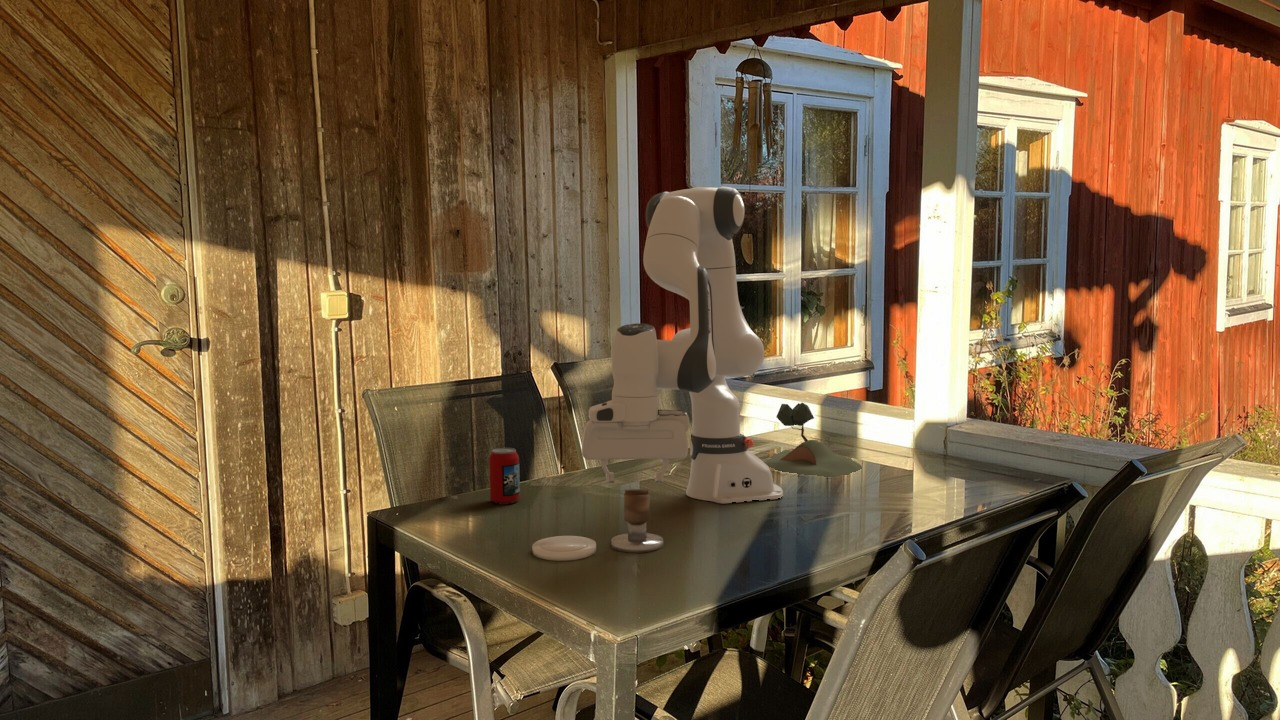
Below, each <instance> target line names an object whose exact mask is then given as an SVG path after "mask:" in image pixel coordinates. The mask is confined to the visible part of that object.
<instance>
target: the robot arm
mask: <svg viewBox="0 0 1280 720" xmlns="http://www.w3.org/2000/svg"><path fill="white" fill-rule="evenodd" d="M745 210H746V209H745V204H744V199H743V197H742V194H741V193H740V192H739V191H738V190H737V189H736V188H734V187H730V186H729V187H728V186H724V185H723V186H722V185H721V186H719V187H710V186H705V187H704V186H702V187H701V186H699V187H691V188H686V189H680V190H675V191H663V192H659V193H657V194H654V195H653V196H652V197H651V198H650V199H649V201H648V202H647V205H646V208H645V223H646V226H647V234H646V240H645V243H644V244H645V245H644V248H643V249H644V250H643V256H642V258H643V267H644V271H645V272H646V274H647V276H648V277H649V278H650V279H651V281H653V282H654V283H655V284H657V285H658V286H659V287H660V288H662V289H665V290H667V291H669V292H672V293H675V294H677V295H679V296H681V297H683V298H685V299H686V300H688V301H689V302H688V303H689V328H685V329H681V330H679V331H677V332H676V333H675V334H674V336H673V337H672V338H671V339H670V340H669V339H657V338H658V337H657V332H656V328H655V327H654V325H650V324H648V323H639V322H638V323H637V322H636V323H631V324H624V325H622V326H620V327H618V328H617V329H616V330H615V334H614V338H613V345H612V354H611V355H612V356H611V375H612V378H613V387H612V392H611V400H608V401H605V402H602V403H598V404H595V405H592V406H590V407H589V409H588V419H589V420H588V421H587V422H586V424H585V425H584V429H583V434H582V440H581V441H582V442H581V455H582V457H583V458H584V459H585V460H587V461H588V460H590V461H591V460H592V461H594V460H595V461H597V460H598V461H599V460H600V461H599V462H600V463H599V464H600V467H601V468H602V470H603V472H604V474H605V482H606V483H605V484H607V483H608V484H610V483H611V484H612V483H613V484H614V482H615V479H614V478H615V473H614V472H613V471H609V469H608V467H607V466H608V465H609V460H660V463H662V466H661V467H660V469H659V471H657V470H656V471H655V472H654V475H655V477H654V481H655V482H656V483H664V482H665V481H664V479H665V478H664V474H665V473H666V471H667V469H668V467H669V466H670V459H671V460H673V459H674V460H675V459H676V460H677V459H678V460H679V459H685V458H686V457H687V456H688V454H689V452H690V458H691V465H690V473H689V480H688V484H687V487H686V491H685V495H686V496H687V497H689V498H692V499H695V500H696V499H697V500H700V501H701V500H702V501H708V502H709V501H710V502H714V503H717V504H732V502H736V503H745V502H744V501H747V502H753V501H752V500H759V501H767V499H770V500H779V499H778V498H780V499H782V498H783V497H784V491H783V488H782V487H780V486H779V485H778V484H776V483H774V477H773V472H772V471H771V470H770V468H769V467H768V466H767V465H766V464H765V463H764V462H765V461H763V460H762V459H760V458H759V457H758V456H757V455H756V454H754V453H753V452H751V451H750V450H749V449H750V448H752V447H753V446H754V444H755V442H754V440H753V439H752V438H751V437H747V436H746V435H743V434H741V404H740V403H741V402H740V401H739V398H738V396H736V395H735V394H734V393H733V392H732V391H731V389H730V387H729V385H728V383H727V380H726V378H742V377H747V376H751V375H754V374H756V373H757V372H758V371H759V370H760V369H761V367H762V365H763V363H764V359H765V346H764V344H763V341H762V340H761V338H760V337H759V336H758V335H757V334H756V333H754V331H753V330H752V329H751V328H750V326H749V323H748V322H747V320H746V318H745V316H744V313H743V311H742V307H741V305H740V304H741V303H740V300H739V295H738V294H739V293H738V284H737V283H738V281H737V269H736V268H737V267H736V254H735V249H734V243H733V238H734V236H735V235H736V234H737V233H738V232H739V231H740V230H741V228H742V226H743V224H744V221H745V212H746V211H745ZM659 390H679V391H682V392H688V394H689V397H690V402H691V416H692V417H691V419H692V420H691V421H692V422H691V423H692V426H691V427H692V433H691V434H690V441H689V443H688V435H687V432H688V431H689V429H690V416H689V415H688V414H687V412H684V411H682V410H681V409H673V410H672V409H659ZM689 447H690V448H689ZM782 496H783V497H782ZM781 497H782V498H781Z"/></svg>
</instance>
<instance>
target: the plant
mask: <svg viewBox="0 0 1280 720" xmlns="http://www.w3.org/2000/svg"><path fill="white" fill-rule="evenodd" d="M776 418H777V419H778V421H779V422H780V423H781V424H782V425H783V426H784V427H791V428H792V430H799V431H801V433H800V437H801V438H802V439H803V441H804V442H803V441H802V442H801V443H800V444H798V445H797V446H796V447H795V448H789V449H784V450H781V451H782V452H781V451H779V452H780V453H778V452H777V453H778V454H776V453H774V454H772V455H773V456H771V455H770V456H771V457H770V456H769V457H770V458H771V459H769V460H767V461H766V460H765V461H766V462H765V461H764V462H765V464H766V465H767V466H768V467H771V468H774V469H775V470H778V471H782V472H789V473H797V474H804V475H817V476H824V477H836V476H840V475H849V474H850V473H852V472H856V471H858V470H860V469H862V467H863V466H861V463H860V462H857V461H855V460H854V461H853V459H852V458H850V457H848V456H846V455H841V454H839V453H835V452H833V451H832V450H831V449H830V447H828V446H827V445H826V444H824V443H822V442H820V441H819V440H817V439H807V437H806V436H805V434H804V433H805V432H804V431H805V429H804V425H805V424H806V423H807V422H809V421H811V420H813V419H815V416H814V415H813V413H812V411H811V409H810V406H809V405H807V404H806V403H805V402H800V403H799V402H798V403H797V404H796V405H795V406H794V407H793V408H792V407H791V406H790V405H789V404H787V403H781V405H780V408H779V410H778V412H777V415H776ZM794 426H799V427H801V428H796V427H794Z"/></svg>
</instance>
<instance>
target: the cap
mask: <svg viewBox="0 0 1280 720" xmlns="http://www.w3.org/2000/svg"><path fill="white" fill-rule="evenodd" d="M623 494H624V495H623V499H624V502H623V503H624V504H623V508H624V509H623V510H624V512H623V514H624V518H623V519H624V521H625V522H627V523H628V522H630V523H643V522H646V523H647V522H649V521H650V493H649V489H648V488H637V489H636V488H634V489H632V488H631V489H630V488H629V489H624V493H623Z"/></svg>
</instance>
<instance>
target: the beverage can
mask: <svg viewBox="0 0 1280 720" xmlns="http://www.w3.org/2000/svg"><path fill="white" fill-rule="evenodd" d="M488 461H489V467H488V468H489V469H488V470H489V496H490V497H489V499H490V500H491V501H492V502H494V503H495V504H497V503H499V504H498V505H509V503H511V504H513V503H516V502H517V501H518V500H519V499H520V498H521V497H520V496H521V495H520V494H521V488H520V487H521V486H520V485H521V484H520V483H521V482H520V479H521V478H520V456H519V454H518V452H517V449H515V448H514V447H500V448H499V447H498V448H493V449H492V451H491V454H490V455H489V459H488Z"/></svg>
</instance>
